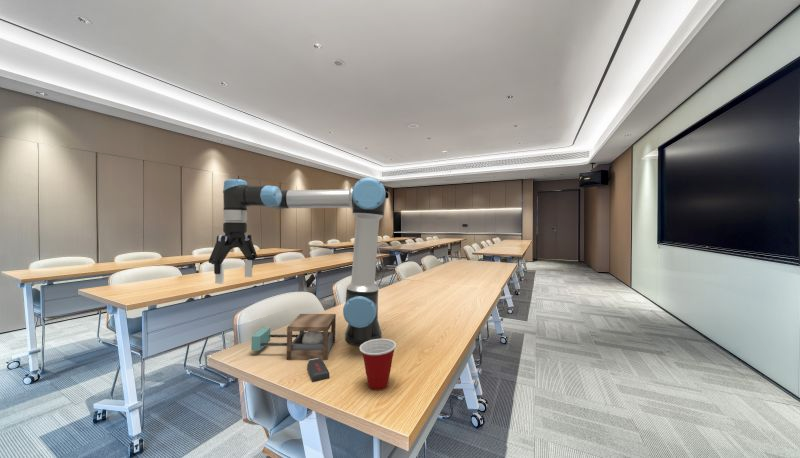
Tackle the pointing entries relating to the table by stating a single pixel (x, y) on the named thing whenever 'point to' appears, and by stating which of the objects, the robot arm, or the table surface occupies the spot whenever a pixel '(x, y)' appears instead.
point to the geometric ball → (312, 338)
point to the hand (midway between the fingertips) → (234, 280)
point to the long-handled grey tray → (264, 336)
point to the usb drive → (317, 370)
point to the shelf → (311, 324)
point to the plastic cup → (378, 361)
